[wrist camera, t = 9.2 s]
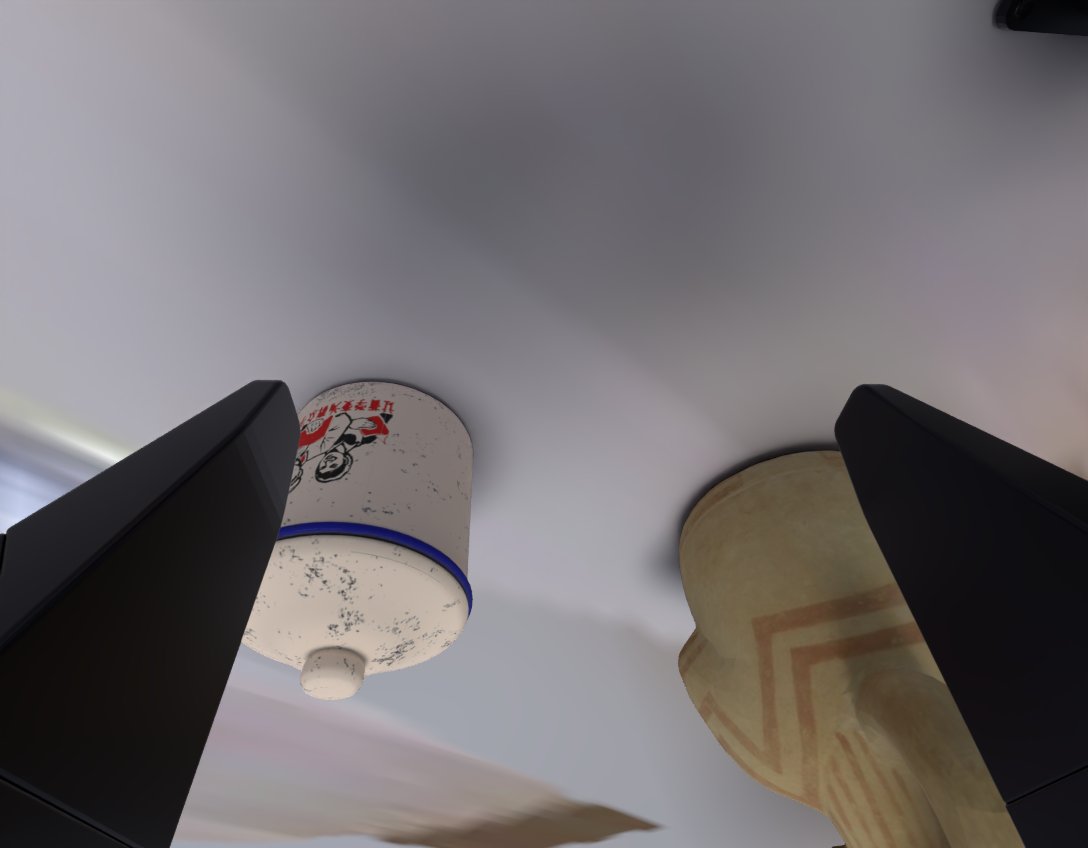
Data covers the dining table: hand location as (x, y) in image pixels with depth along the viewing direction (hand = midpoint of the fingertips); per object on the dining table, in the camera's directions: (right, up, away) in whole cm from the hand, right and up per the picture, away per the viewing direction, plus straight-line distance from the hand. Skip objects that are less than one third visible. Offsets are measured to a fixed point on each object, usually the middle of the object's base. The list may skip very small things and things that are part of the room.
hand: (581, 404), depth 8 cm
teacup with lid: (-10, -2, +18) cm, 21 cm away
